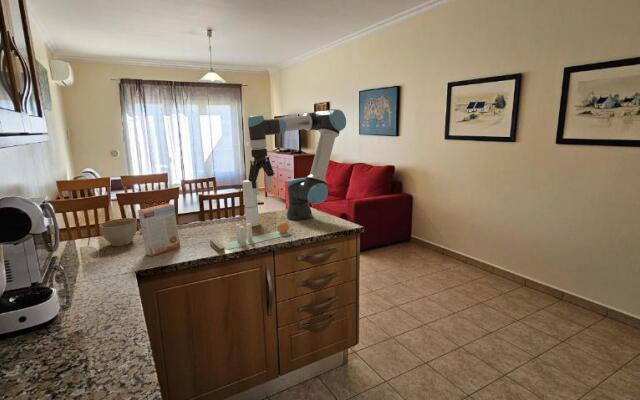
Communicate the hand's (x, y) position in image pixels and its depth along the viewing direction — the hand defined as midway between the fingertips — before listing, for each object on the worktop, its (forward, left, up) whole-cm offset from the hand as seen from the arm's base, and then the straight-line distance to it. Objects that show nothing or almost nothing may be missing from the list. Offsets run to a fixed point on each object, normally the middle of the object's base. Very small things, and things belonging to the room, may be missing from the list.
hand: (263, 191), depth 170 cm
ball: (-7, +4, -19) cm, 21 cm away
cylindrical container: (-1, -22, -22) cm, 31 cm away
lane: (+7, +4, -22) cm, 24 cm away
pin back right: (+15, +2, -22) cm, 27 cm away
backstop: (+27, +4, -22) cm, 35 cm away
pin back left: (+15, +7, -22) cm, 28 cm away
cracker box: (+48, -10, -22) cm, 54 cm away
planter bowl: (+63, -36, -23) cm, 76 cm away
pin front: (+11, +4, -22) cm, 25 cm away
